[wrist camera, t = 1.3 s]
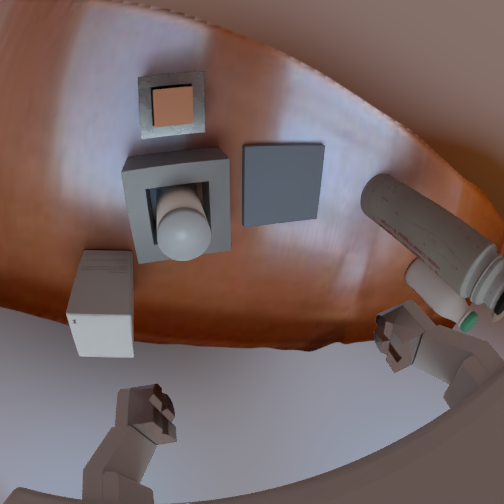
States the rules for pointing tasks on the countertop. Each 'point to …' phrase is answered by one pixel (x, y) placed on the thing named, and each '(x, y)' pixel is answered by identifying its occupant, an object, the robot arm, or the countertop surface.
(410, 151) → the countertop surface
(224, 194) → the housing
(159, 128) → the frame
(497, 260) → the thermos bottle
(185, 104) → the plunger
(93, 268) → the supplement box
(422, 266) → the milk bottle
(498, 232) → the countertop surface
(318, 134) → the countertop surface
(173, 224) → the cylinder
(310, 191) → the mat
